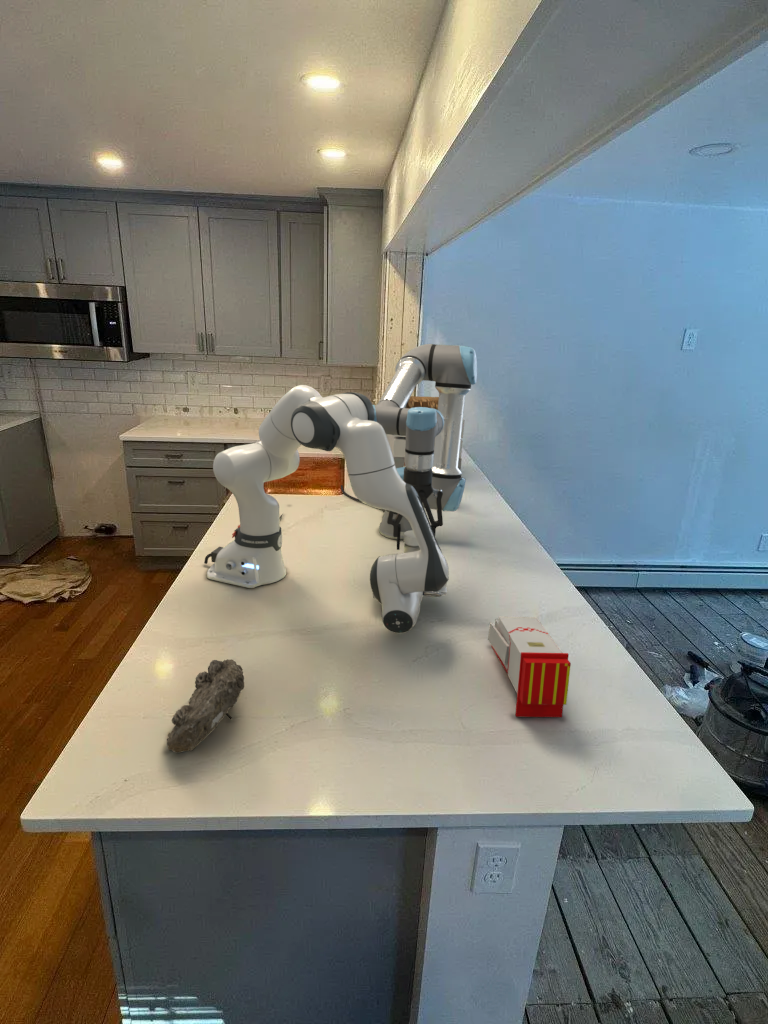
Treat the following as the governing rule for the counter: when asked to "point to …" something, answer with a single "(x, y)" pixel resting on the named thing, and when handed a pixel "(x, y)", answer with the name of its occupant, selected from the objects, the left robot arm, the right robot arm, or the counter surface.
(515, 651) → the toy
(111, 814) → the counter surface
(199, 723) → the fossil
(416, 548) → the jar
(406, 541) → the lid
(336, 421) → the left robot arm
